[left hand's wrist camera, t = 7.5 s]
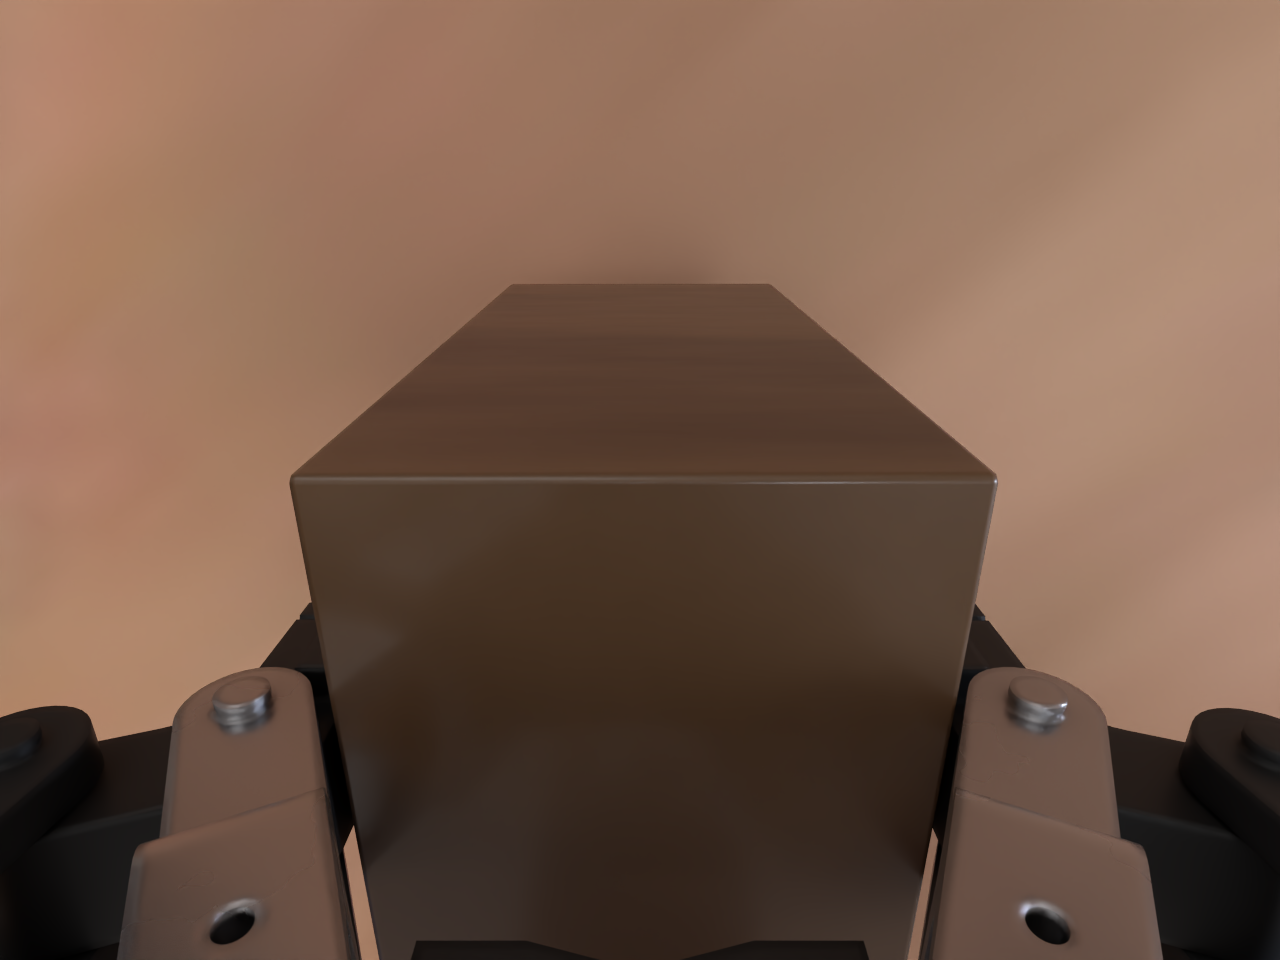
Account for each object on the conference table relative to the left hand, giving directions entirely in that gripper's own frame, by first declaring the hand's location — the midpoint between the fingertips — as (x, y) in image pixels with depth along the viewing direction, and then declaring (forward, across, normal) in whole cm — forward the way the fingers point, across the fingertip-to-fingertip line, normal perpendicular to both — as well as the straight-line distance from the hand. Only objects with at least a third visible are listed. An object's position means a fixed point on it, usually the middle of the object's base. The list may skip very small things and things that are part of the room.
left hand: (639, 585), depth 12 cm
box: (+8, 0, +8) cm, 11 cm away
